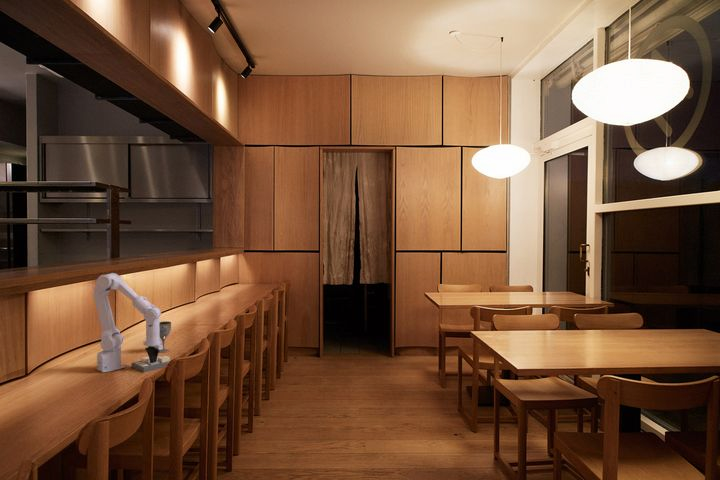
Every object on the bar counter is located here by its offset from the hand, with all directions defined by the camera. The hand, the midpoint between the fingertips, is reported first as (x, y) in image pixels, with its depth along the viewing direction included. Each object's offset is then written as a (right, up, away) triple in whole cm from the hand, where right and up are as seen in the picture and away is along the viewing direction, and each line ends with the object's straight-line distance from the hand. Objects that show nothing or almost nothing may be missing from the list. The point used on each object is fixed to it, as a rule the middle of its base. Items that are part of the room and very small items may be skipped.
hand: (153, 362), depth 211 cm
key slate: (0, -2, 0) cm, 2 cm away
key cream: (-4, -1, +3) cm, 5 cm away
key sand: (+3, -1, +4) cm, 5 cm away
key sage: (-1, -2, +7) cm, 8 cm away
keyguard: (-1, -2, +3) cm, 4 cm away
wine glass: (-8, -2, +28) cm, 30 cm away
